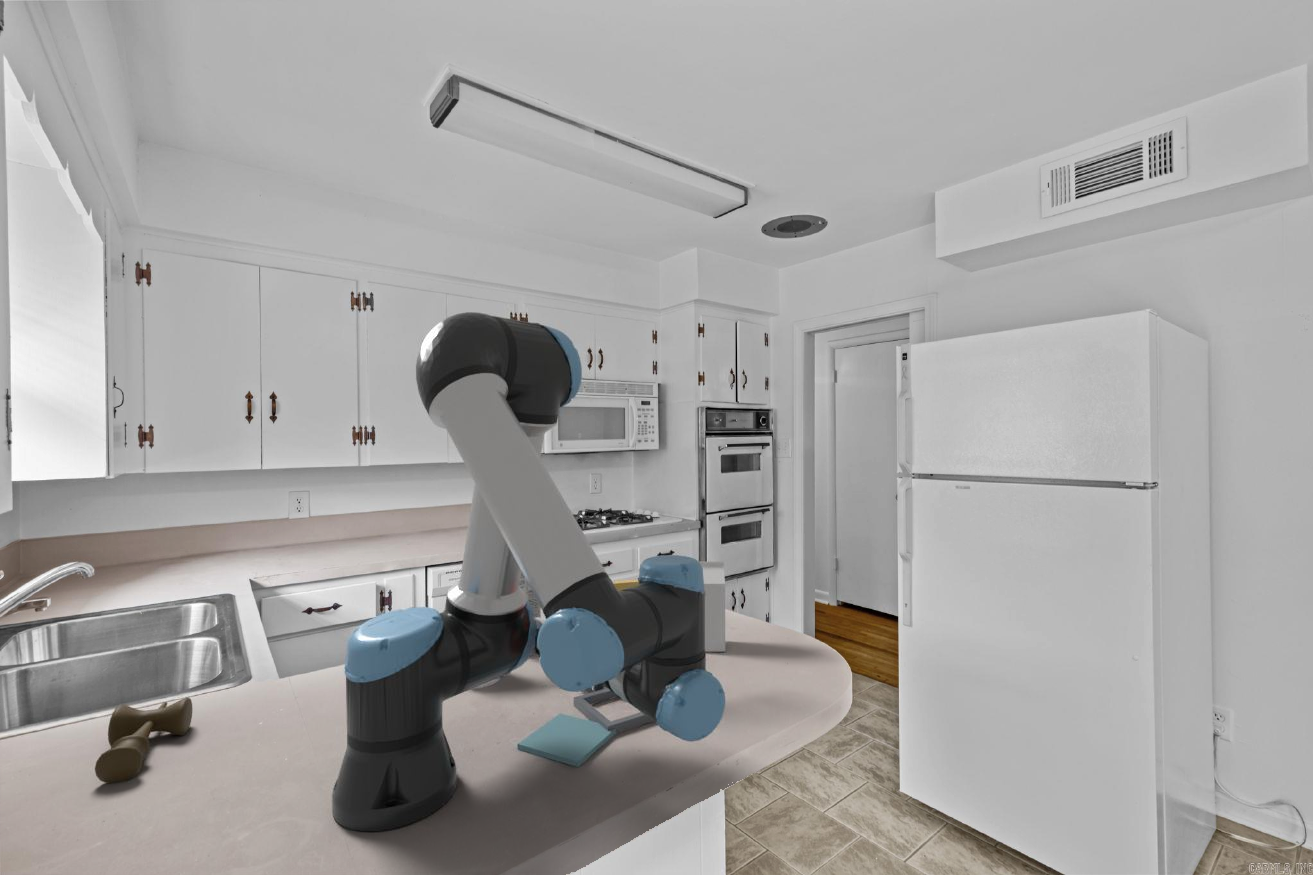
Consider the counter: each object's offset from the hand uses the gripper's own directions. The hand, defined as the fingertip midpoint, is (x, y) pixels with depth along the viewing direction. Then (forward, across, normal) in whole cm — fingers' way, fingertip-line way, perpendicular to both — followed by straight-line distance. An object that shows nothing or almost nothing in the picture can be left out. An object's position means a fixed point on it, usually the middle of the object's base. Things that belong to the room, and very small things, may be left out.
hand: (557, 621), depth 97 cm
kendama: (+30, -55, -17) cm, 65 cm away
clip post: (+9, +12, -17) cm, 23 cm away
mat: (-4, 0, -17) cm, 18 cm away
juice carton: (+39, +7, -17) cm, 43 cm away
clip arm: (+7, +18, -1) cm, 19 cm away
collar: (0, +12, -17) cm, 21 cm away
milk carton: (+16, +43, -18) cm, 49 cm away
